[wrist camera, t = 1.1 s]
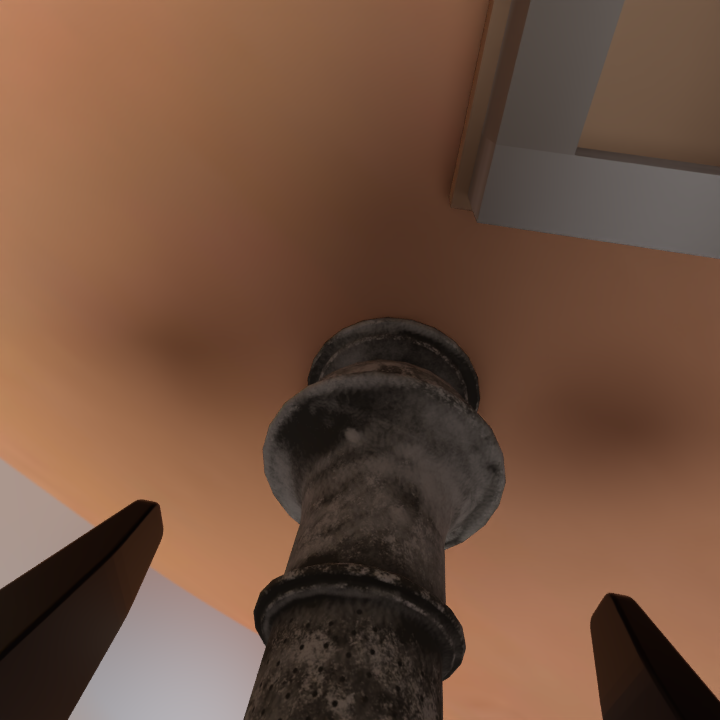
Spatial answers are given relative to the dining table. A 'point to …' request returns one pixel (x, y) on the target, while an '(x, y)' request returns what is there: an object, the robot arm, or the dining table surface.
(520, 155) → the socket
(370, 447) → the dark grey chess piece
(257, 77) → the dining table surface
